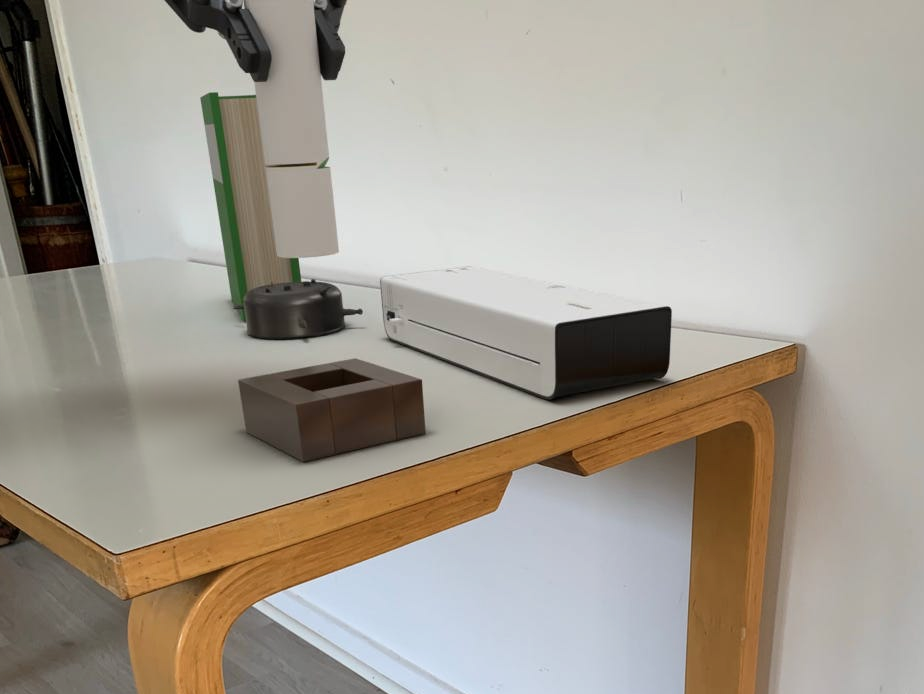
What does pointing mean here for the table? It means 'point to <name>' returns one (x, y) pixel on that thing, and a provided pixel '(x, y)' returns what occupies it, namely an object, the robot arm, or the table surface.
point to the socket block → (332, 408)
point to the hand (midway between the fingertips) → (300, 68)
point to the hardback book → (243, 196)
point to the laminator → (527, 329)
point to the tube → (295, 131)
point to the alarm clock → (294, 310)
